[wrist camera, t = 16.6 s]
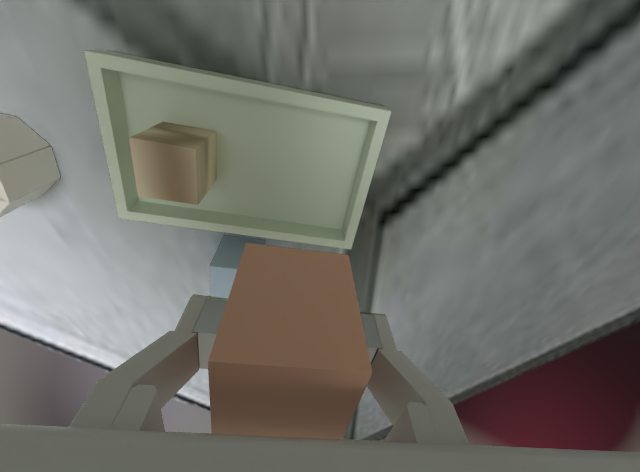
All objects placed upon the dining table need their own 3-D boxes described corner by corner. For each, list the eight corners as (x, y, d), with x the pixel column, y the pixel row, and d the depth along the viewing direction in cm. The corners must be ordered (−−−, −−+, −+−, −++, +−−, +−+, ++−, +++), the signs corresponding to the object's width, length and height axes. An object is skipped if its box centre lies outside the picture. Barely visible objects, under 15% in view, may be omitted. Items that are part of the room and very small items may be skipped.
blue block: (224, 266, 31) (210, 300, 26) (224, 234, 29) (209, 265, 24) (262, 270, 31) (255, 304, 27) (265, 239, 29) (257, 271, 25)
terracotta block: (242, 315, 13) (212, 441, 9) (245, 242, 11) (207, 361, 7) (329, 323, 14) (339, 445, 9) (348, 254, 12) (372, 372, 7)
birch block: (167, 171, 24) (137, 196, 20) (162, 121, 22) (128, 137, 18) (216, 179, 25) (198, 204, 21) (216, 131, 23) (195, 149, 18)
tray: (134, 204, 26) (118, 218, 24) (108, 50, 20) (84, 50, 18) (347, 234, 29) (351, 249, 27) (383, 105, 23) (391, 111, 20)
